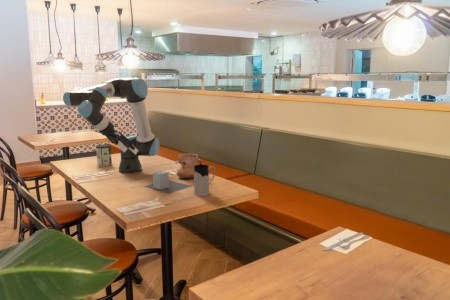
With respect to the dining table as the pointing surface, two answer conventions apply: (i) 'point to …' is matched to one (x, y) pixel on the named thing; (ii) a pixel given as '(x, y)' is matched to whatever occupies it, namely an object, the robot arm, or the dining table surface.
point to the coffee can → (103, 155)
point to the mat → (171, 187)
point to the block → (160, 180)
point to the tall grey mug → (202, 180)
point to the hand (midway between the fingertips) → (131, 151)
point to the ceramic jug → (187, 165)
